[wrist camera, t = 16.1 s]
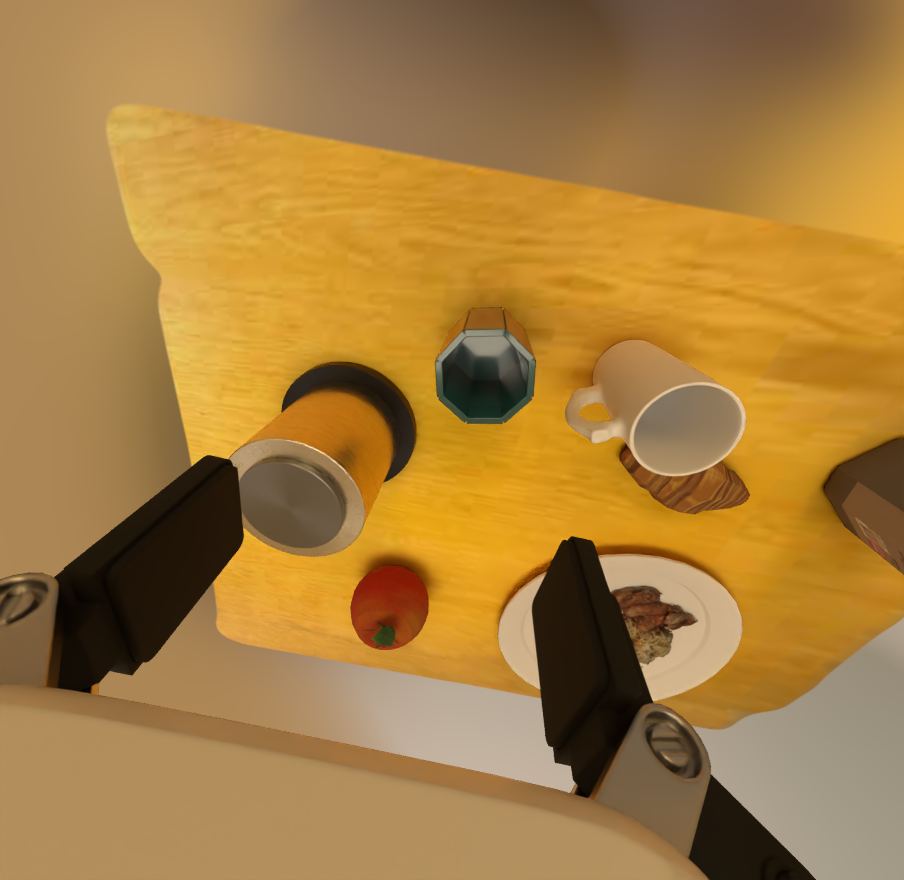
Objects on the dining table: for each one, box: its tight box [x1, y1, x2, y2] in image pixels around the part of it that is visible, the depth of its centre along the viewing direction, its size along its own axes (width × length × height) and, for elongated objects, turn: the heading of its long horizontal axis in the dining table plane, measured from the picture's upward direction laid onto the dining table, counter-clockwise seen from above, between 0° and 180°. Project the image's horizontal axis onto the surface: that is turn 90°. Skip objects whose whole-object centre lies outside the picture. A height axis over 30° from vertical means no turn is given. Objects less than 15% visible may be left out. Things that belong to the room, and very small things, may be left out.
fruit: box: [350, 565, 429, 650], centre depth 46 cm, size 10×10×10 cm
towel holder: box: [229, 362, 416, 557], centre depth 34 cm, size 14×14×14 cm
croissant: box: [620, 446, 750, 514], centre depth 36 cm, size 14×7×5 cm, turn 72°
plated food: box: [498, 554, 742, 701], centre depth 49 cm, size 30×30×3 cm
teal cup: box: [435, 307, 536, 424], centre depth 31 cm, size 7×7×9 cm
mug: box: [565, 340, 746, 476], centre depth 30 cm, size 10×7×12 cm, turn 103°
